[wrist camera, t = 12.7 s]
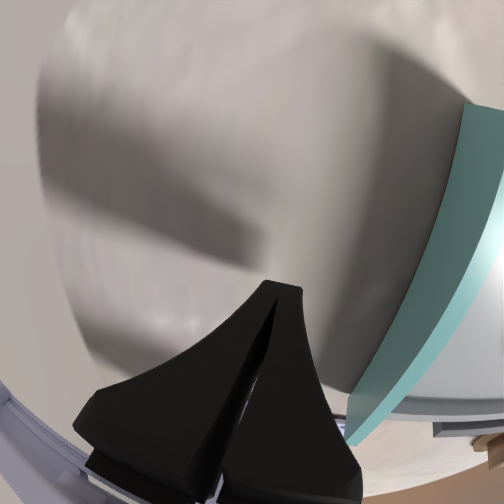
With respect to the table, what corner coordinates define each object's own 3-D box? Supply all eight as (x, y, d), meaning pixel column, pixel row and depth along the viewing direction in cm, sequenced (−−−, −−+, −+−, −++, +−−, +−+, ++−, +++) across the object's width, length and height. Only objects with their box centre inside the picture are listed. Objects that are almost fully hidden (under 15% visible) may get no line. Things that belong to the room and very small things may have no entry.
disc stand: (462, 449, 17) (462, 478, 14) (499, 420, 14) (504, 454, 11) (499, 444, 16) (501, 470, 13) (535, 415, 13) (540, 445, 10)
